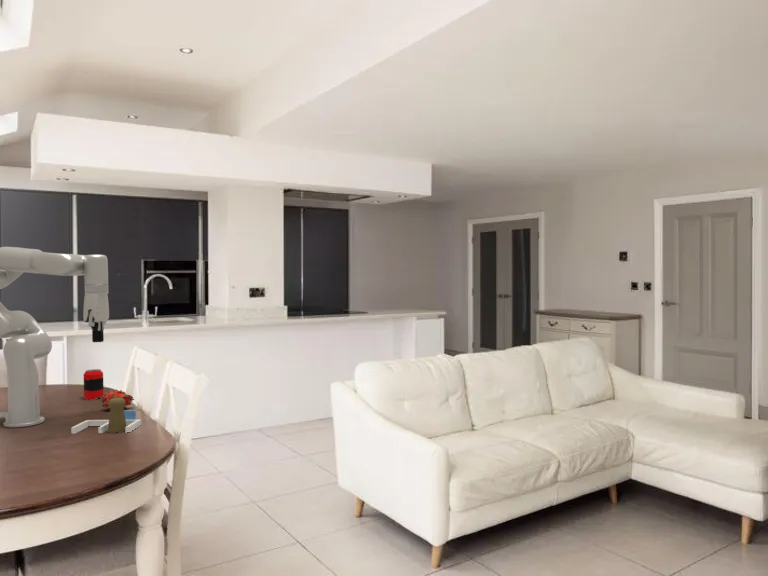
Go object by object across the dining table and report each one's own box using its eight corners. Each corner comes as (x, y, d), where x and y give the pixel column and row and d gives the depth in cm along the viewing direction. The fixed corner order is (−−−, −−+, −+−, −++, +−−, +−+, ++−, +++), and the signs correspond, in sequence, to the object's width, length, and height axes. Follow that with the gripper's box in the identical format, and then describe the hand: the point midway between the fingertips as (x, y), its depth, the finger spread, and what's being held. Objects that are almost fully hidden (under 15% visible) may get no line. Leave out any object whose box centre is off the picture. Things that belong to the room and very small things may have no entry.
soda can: (85, 400, 253) (84, 372, 253) (83, 397, 259) (82, 370, 259) (105, 398, 257) (104, 370, 257) (102, 395, 264) (101, 368, 263)
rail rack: (71, 433, 201) (71, 418, 201) (87, 425, 212) (87, 411, 212) (129, 432, 201) (128, 417, 200) (142, 424, 212) (142, 410, 211)
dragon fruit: (98, 414, 235) (131, 416, 239) (98, 405, 228) (132, 407, 232) (102, 394, 239) (134, 396, 244) (102, 385, 233) (135, 387, 237)
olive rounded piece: (119, 433, 200) (119, 400, 200) (103, 432, 201) (102, 399, 201) (130, 428, 206) (130, 396, 206) (115, 428, 207) (114, 396, 207)
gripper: (96, 289, 220) (97, 339, 220) (75, 290, 205) (76, 344, 205) (116, 289, 219) (118, 339, 220) (97, 290, 205) (98, 344, 205)
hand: (98, 341), depth 213 cm, fingers closed
